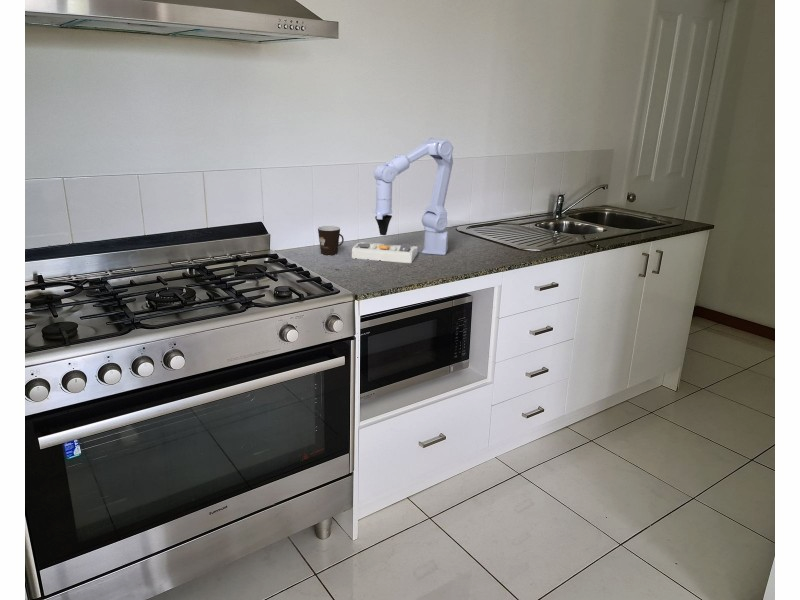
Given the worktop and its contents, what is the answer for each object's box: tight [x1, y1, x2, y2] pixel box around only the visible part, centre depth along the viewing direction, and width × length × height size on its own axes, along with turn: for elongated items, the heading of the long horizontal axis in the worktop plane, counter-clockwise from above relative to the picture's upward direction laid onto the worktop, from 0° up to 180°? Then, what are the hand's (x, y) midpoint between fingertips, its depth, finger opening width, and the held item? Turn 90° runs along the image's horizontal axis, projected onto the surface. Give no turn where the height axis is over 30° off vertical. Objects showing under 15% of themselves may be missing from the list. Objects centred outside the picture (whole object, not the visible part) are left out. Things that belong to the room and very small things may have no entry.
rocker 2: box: [399, 243, 411, 252], centre depth 219 cm, size 3×6×2 cm, turn 169°
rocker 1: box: [358, 242, 370, 248], centre depth 221 cm, size 3×6×2 cm, turn 169°
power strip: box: [351, 241, 419, 264], centre depth 223 cm, size 23×14×4 cm, turn 79°
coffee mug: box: [317, 225, 345, 256], centre depth 222 cm, size 12×9×10 cm
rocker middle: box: [378, 245, 390, 250], centre depth 220 cm, size 3×6×2 cm, turn 169°
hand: (383, 234), depth 216 cm, fingers closed
